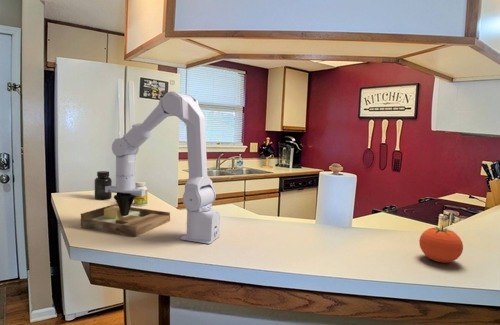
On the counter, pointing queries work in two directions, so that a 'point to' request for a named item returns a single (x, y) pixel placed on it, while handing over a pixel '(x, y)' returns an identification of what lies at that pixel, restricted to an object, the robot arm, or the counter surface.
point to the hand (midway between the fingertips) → (124, 215)
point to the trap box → (124, 221)
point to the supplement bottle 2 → (139, 200)
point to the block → (112, 212)
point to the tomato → (441, 244)
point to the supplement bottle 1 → (102, 185)
